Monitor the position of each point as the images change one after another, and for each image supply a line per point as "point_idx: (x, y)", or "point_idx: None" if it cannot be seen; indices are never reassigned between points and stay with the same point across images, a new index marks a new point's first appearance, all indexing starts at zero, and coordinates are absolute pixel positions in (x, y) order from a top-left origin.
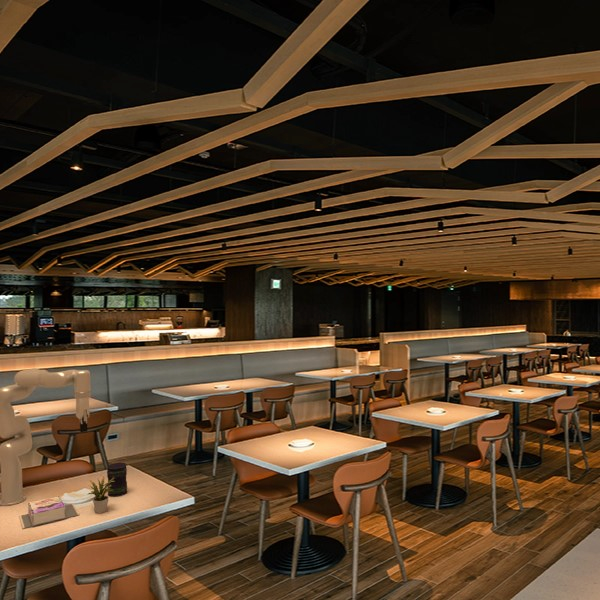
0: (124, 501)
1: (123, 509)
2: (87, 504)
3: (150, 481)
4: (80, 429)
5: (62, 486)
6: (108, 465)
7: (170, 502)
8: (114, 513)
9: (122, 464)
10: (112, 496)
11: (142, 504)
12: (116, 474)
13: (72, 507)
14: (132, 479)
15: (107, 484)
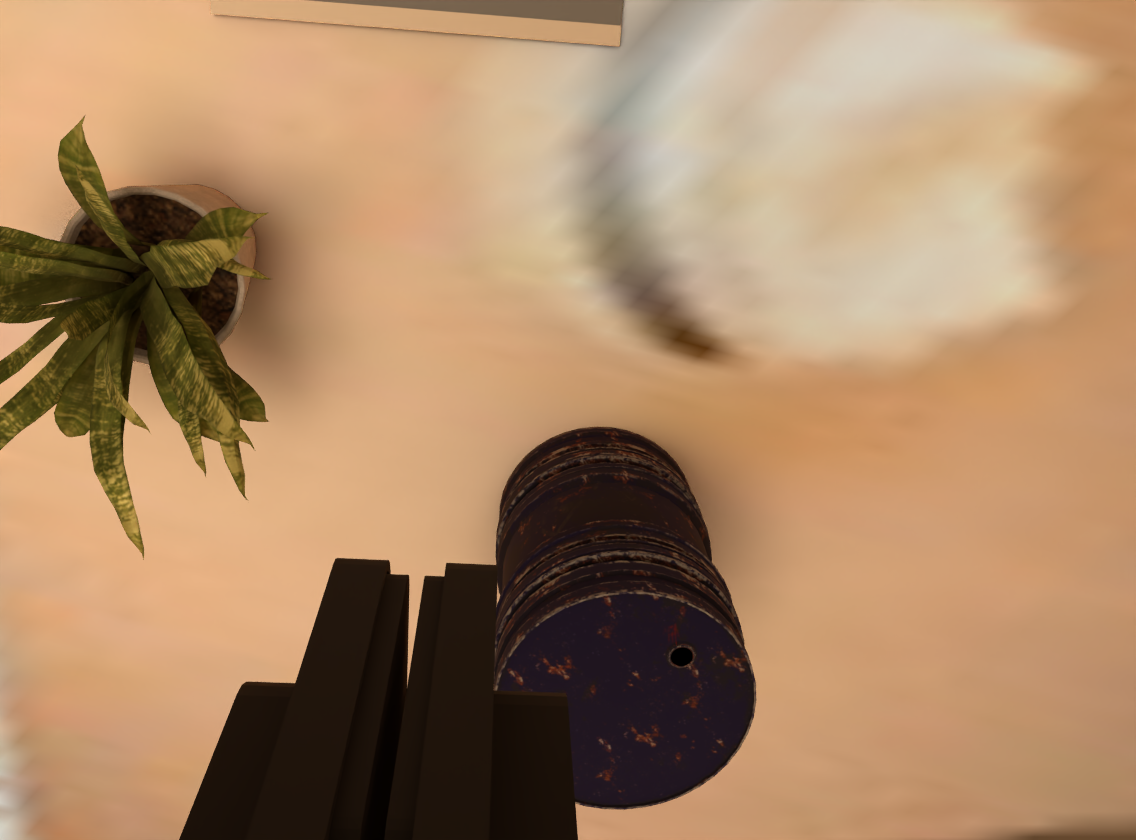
0: (321, 504)
1: None
2: (501, 180)
3: (690, 831)
4: (340, 622)
5: None
6: (722, 626)
7: (23, 793)
8: None
9: (622, 769)
10: (532, 452)
11: (126, 605)
12: (500, 618)
13: (489, 2)
14: (883, 733)
15: (97, 417)
